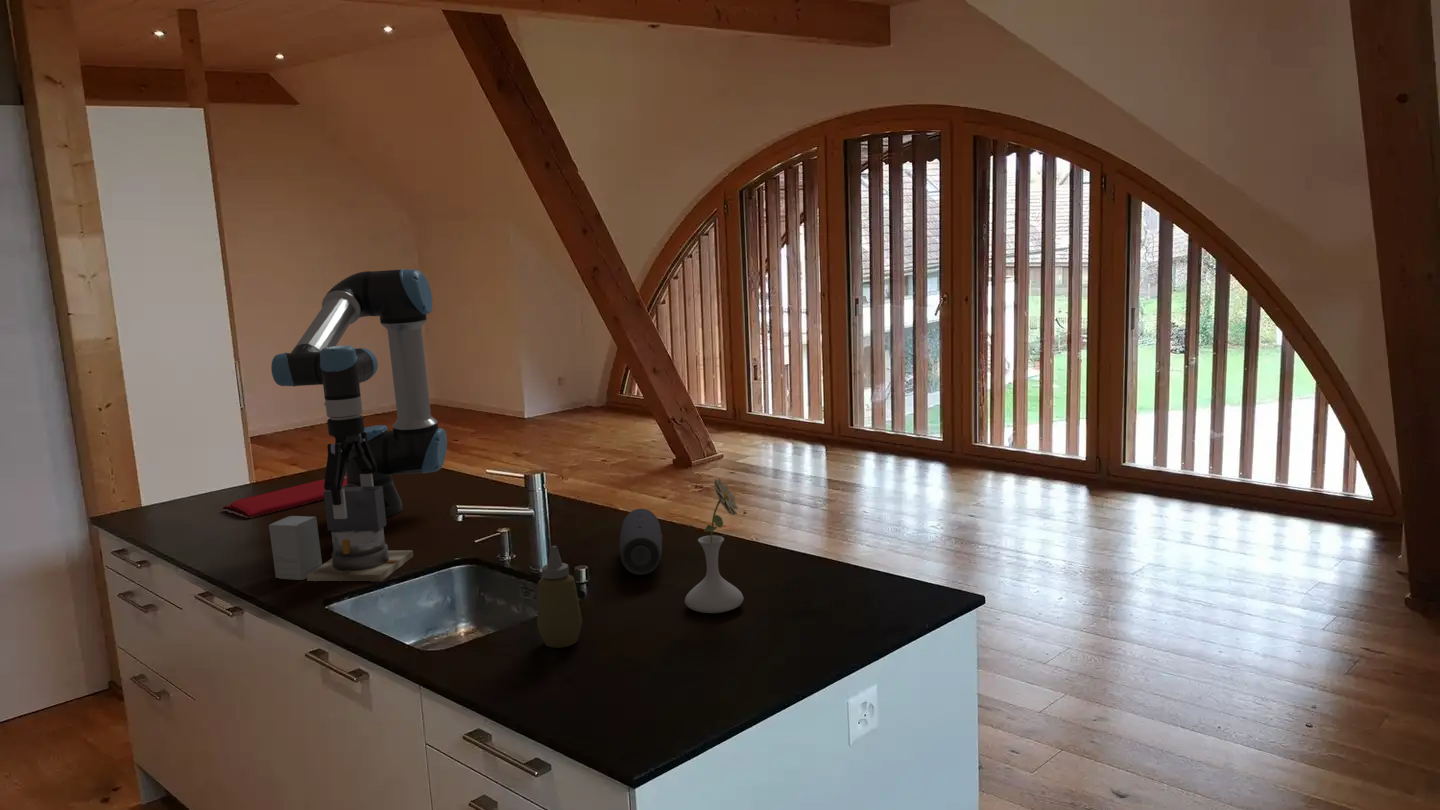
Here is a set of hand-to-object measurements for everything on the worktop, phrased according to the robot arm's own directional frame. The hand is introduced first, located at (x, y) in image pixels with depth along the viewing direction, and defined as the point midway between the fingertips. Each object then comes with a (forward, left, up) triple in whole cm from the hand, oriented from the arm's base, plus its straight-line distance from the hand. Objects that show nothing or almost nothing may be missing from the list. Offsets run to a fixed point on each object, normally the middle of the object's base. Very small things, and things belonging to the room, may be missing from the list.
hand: (355, 510), depth 238 cm
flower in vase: (+23, +84, -14) cm, 88 cm away
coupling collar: (0, 0, -9) cm, 9 cm away
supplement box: (+4, -13, -14) cm, 19 cm away
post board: (0, 0, -14) cm, 14 cm away
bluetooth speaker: (-3, +64, -14) cm, 66 cm away
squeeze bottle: (+41, +58, -14) cm, 72 cm away
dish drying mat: (-62, -48, -14) cm, 80 cm away
